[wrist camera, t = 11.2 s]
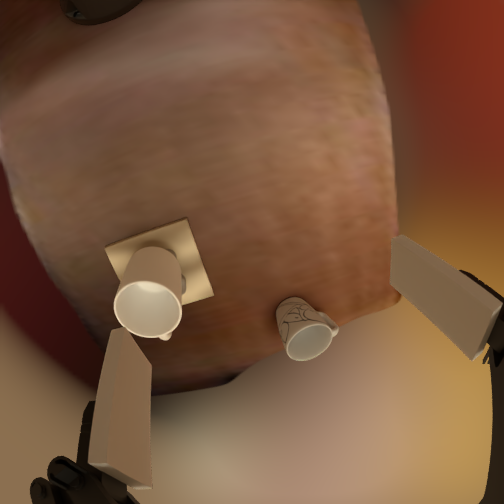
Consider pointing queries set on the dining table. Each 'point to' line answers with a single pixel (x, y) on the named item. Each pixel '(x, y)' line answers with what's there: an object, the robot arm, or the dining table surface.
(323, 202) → the dining table surface
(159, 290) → the mug
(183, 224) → the peg stand
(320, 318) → the mug
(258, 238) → the dining table surface
